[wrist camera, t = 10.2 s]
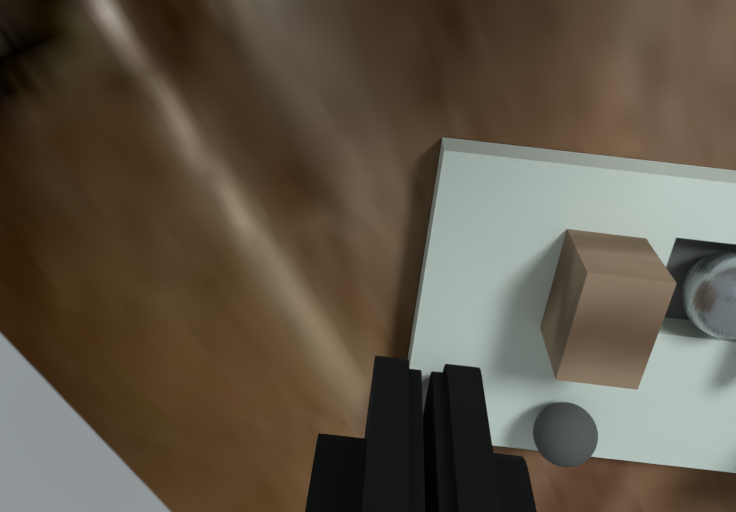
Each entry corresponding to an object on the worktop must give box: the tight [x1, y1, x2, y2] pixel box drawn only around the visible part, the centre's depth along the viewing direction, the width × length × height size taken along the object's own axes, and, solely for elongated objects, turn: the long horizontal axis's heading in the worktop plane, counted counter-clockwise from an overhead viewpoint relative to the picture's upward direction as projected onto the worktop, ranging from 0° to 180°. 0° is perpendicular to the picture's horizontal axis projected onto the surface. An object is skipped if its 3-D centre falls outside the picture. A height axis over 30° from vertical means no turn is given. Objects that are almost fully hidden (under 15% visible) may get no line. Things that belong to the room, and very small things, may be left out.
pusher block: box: [540, 229, 677, 390], centre depth 34 cm, size 6×4×4 cm, turn 174°
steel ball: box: [681, 251, 736, 340], centre depth 35 cm, size 4×4×4 cm
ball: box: [533, 402, 598, 467], centre depth 38 cm, size 4×4×4 cm
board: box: [408, 137, 736, 473], centre depth 37 cm, size 18×22×5 cm
